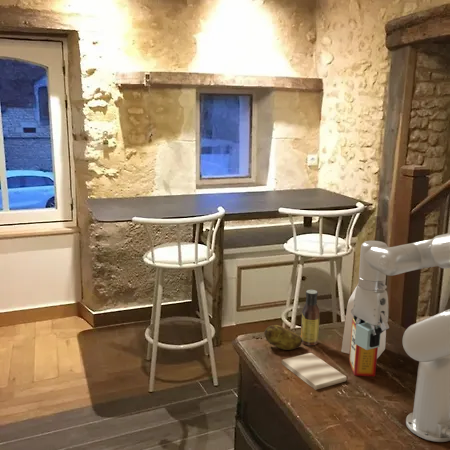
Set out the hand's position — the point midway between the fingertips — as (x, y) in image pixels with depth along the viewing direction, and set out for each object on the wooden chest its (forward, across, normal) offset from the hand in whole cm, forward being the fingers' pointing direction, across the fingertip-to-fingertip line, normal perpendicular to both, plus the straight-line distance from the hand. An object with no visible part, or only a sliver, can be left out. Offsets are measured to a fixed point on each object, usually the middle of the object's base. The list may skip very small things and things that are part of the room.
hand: (367, 341), depth 152 cm
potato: (+15, +35, +6) cm, 38 cm away
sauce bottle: (+15, +34, -5) cm, 37 cm away
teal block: (+1, 0, 0) cm, 1 cm away
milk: (+16, +21, -19) cm, 32 cm away
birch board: (+15, +16, +7) cm, 23 cm away
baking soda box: (+16, +11, -9) cm, 21 cm away
